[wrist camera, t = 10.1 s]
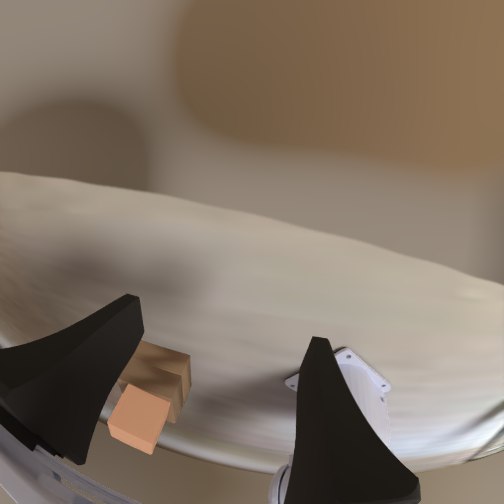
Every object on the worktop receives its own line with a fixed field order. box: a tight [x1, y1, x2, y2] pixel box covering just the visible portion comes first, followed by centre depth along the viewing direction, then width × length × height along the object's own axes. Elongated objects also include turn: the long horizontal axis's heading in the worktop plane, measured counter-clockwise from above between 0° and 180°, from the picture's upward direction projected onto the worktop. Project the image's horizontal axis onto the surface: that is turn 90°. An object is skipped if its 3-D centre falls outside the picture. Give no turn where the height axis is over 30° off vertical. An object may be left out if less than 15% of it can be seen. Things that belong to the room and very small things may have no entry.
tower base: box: [131, 340, 191, 403], centre depth 28 cm, size 6×6×3 cm
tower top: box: [118, 358, 183, 424], centre depth 26 cm, size 6×6×3 cm
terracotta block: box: [107, 384, 170, 455], centre depth 22 cm, size 4×4×5 cm
